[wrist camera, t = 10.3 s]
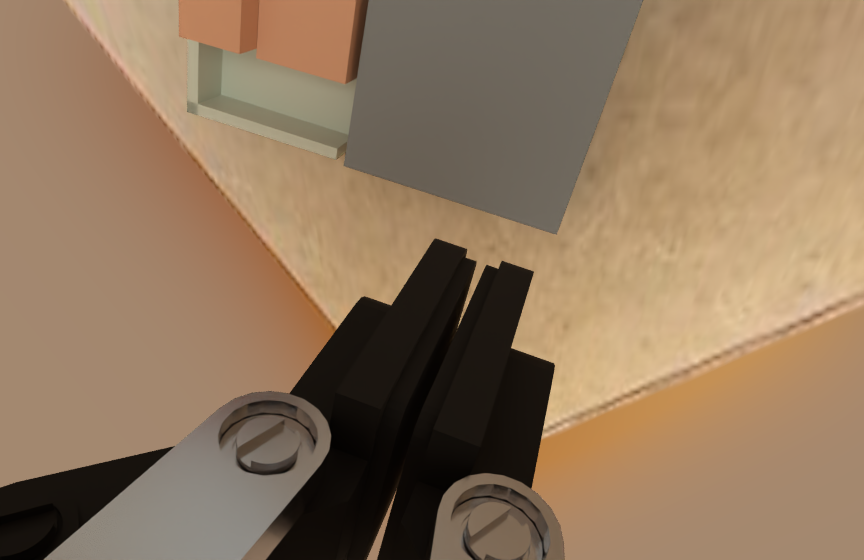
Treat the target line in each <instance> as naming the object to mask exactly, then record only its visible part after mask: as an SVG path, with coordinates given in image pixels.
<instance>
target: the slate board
mask: <svg viewBox="0 0 864 560" xmlns="http://www.w3.org/2000/svg"><path fill="white" fill-rule="evenodd" d="M642 2H643V0H369V2H368V8H367V15H366V22H365V28H364V35H363V42H362V48H361V55H360V61H359V68H358V75H357V81H356V88H355V95H354V101H353V108H352V115H351V121H350V128H349V134H348V141H347V148H346V154H345V161H344V166H346V167H349V168H352V169H355V170H358V171H361V172H364V173H367V174H370V175H373V176H376V177H380V178H383V179H386V180H389V181H392V182H395V183H398V184H401V185H404V186H407V187H410V188H414V189H417V190H420V191H423V192H426V193H429V194H432V195H435V196H438V197H441V198H444V199H448V200H451V201H454V202H457V203H460V204H463V205H466V206H469V207H472V208H475V209H478V210H482V211H485V212H488V213H491V214H494V215H497V216H500V217H503V218H506V219H509V220H512V221H516V222H519V223H522V224H525V225H528V226H531V227H534V228H537V229H540V230H543V231H546V232H550V233H553V234H556V235H557V232H558V229H559V227H560V224H561V221H562V219H563V216H564V213H565V211H566V208H567V205H568V202H569V200H570V197H571V194H572V192H573V189H574V186H575V183H576V181H577V178H578V175H579V173H580V170H581V167H582V165H583V162H584V159H585V156H586V154H587V151H588V148H589V146H590V143H591V140H592V137H593V135H594V132H595V129H596V127H597V124H598V121H599V119H600V116H601V113H602V110H603V108H604V105H605V102H606V100H607V97H608V94H609V91H610V89H611V86H612V83H613V81H614V78H615V75H616V73H617V70H618V67H619V64H620V62H621V59H622V56H623V54H624V51H625V48H626V45H627V43H628V40H629V37H630V35H631V32H632V29H633V27H634V24H635V21H636V18H637V16H638V13H639V10H640V8H641V5H642Z"/></svg>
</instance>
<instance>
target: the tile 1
mask: <svg viewBox="0 0 864 560" xmlns="http://www.w3.org/2000/svg"><path fill="white" fill-rule="evenodd" d="M258 15H259V0H179V37H183V38H186V39H189V40H193V41H196V42H200V43H203V44H207V45H210V46H213V47H217V48H220V49H224V50H227V51H230V52H234V53H237V54H242V53H245V52H248V51H251V50H254V49H257V34H258Z"/></svg>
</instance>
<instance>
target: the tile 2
mask: <svg viewBox="0 0 864 560" xmlns="http://www.w3.org/2000/svg"><path fill="white" fill-rule="evenodd" d="M368 2H369V0H259V15H258V34H257V53H256V58H257V59H260V60H264V61H267V62H271V63H274V64H277V65H281V66H284V67H288V68H291V69H294V70H298V71H301V72H305V73H308V74H312V75H315V76H318V77H322V78H325V79H329V80H332V81H335V82H339V83H342V84H347V83H349V82H350V81H352V80H354V79H356V78H357V75H358V68H359V61H360V55H361V48H362V42H363V35H364V28H365V22H366V15H367V8H368Z"/></svg>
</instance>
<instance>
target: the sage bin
mask: <svg viewBox="0 0 864 560" xmlns="http://www.w3.org/2000/svg"><path fill="white" fill-rule="evenodd" d="M256 53H257V49H254V50H251V51H248V52H245V53H242V54H237V53H234V52H230V51H227V50H224V49H220V48H217V47H213V46H210V45H207V44H203V43H200V42H196V41H193V40H189V39H188V61H187V112H189V113H192V114H195V115H199V116H202V117H205V118H208V119H211V120H214V121H217V122H220V123H223V124H226V125H229V126H233V127H236V128H239V129H242V130H245V131H248V132H251V133H254V134H257V135H260V136H264V137H267V138H270V139H273V140H276V141H279V142H282V143H285V144H288V145H291V146H295V147H298V148H301V149H304V150H307V151H310V152H313V153H316V154H319V155H322V156H326V157H329V158H332V159H335V160H336V159H338V158H339V157H340V156H341V155H343V154H344V153H345V152H346V148H347V141H348V134H349V128H350V121H351V115H352V108H353V101H354V95H355V88H356V81H357V78H356V79H354V80H352V81H350V82H349V83H347V84H342V83H339V82H335V81H332V80H329V79H325V78H322V77H318V76H315V75H312V74H308V73H305V72H301V71H298V70H294V69H291V68H288V67H284V66H281V65H277V64H274V63H271V62H267V61H264V60H260V59H257V58H256Z"/></svg>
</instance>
